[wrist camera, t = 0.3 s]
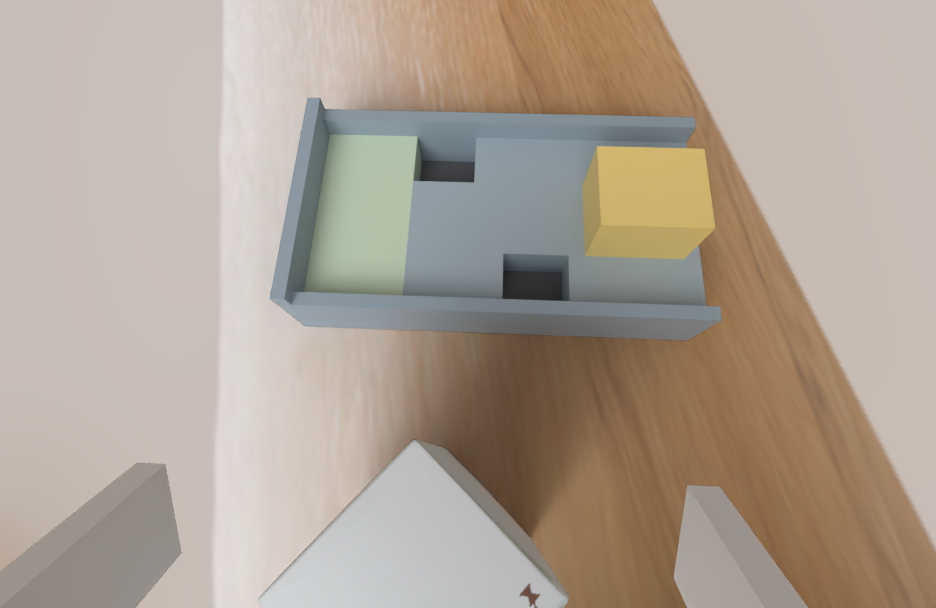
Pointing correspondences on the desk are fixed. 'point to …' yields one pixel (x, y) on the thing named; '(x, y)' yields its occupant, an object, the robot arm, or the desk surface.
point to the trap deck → (471, 228)
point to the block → (646, 202)
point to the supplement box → (420, 547)
